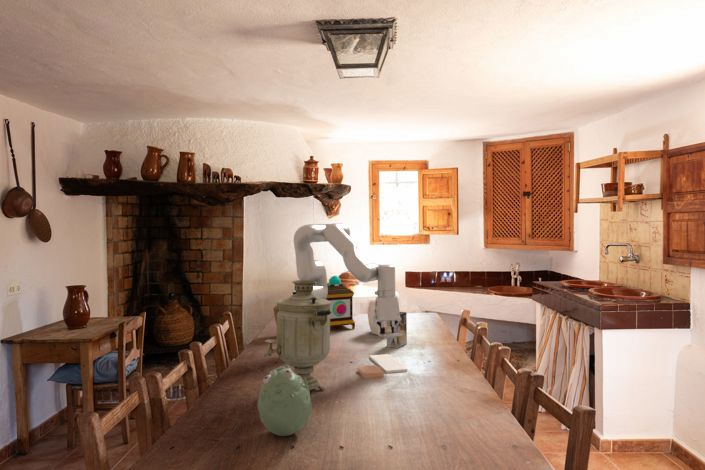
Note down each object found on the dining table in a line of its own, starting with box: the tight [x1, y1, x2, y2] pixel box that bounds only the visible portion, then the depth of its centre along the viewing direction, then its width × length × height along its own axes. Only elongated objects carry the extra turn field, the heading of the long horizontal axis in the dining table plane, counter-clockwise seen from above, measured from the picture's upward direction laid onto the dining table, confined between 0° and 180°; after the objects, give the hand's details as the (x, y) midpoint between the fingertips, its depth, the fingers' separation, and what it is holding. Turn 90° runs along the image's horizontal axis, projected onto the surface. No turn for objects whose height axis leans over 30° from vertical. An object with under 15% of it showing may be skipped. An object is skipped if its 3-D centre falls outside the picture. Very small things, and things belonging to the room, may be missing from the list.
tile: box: [357, 364, 385, 379], centre depth 211 cm, size 8×2×10 cm
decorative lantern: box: [326, 275, 356, 330], centre depth 298 cm, size 20×20×30 cm
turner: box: [377, 326, 403, 338], centre depth 224 cm, size 18×7×4 cm, turn 15°
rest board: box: [368, 353, 408, 374], centre depth 224 cm, size 9×24×1 cm, turn 15°
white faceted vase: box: [367, 297, 386, 336], centre depth 281 cm, size 16×27×19 cm, turn 7°
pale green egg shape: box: [257, 364, 313, 437], centre depth 153 cm, size 16×19×20 cm
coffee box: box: [386, 311, 408, 349], centre depth 257 cm, size 9×6×16 cm
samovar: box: [262, 279, 332, 392], centre depth 190 cm, size 30×26×40 cm
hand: (387, 335), depth 225 cm, fingers closed on turner, 3 cm apart
